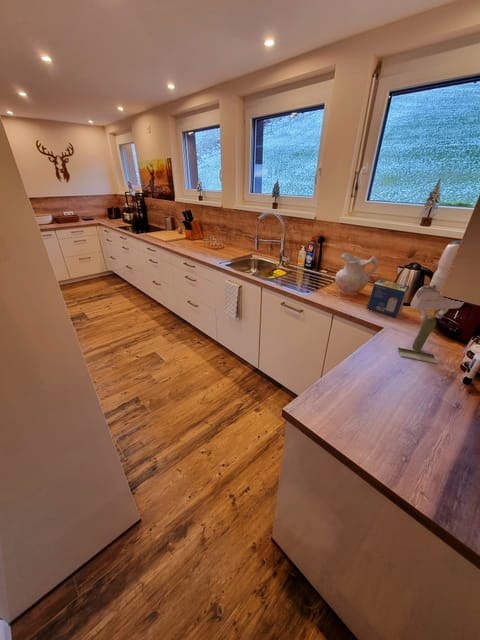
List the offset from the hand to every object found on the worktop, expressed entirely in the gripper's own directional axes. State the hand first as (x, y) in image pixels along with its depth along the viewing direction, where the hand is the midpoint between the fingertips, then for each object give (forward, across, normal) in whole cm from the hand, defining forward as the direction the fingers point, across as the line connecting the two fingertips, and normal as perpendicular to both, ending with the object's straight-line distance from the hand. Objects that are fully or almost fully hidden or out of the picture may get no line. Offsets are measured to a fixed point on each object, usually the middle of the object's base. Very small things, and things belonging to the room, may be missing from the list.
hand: (430, 318), depth 103 cm
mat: (+16, 0, 0) cm, 16 cm away
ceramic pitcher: (+17, +9, +66) cm, 69 cm away
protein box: (+17, +13, +39) cm, 44 cm away
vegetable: (+16, 0, 0) cm, 16 cm away
